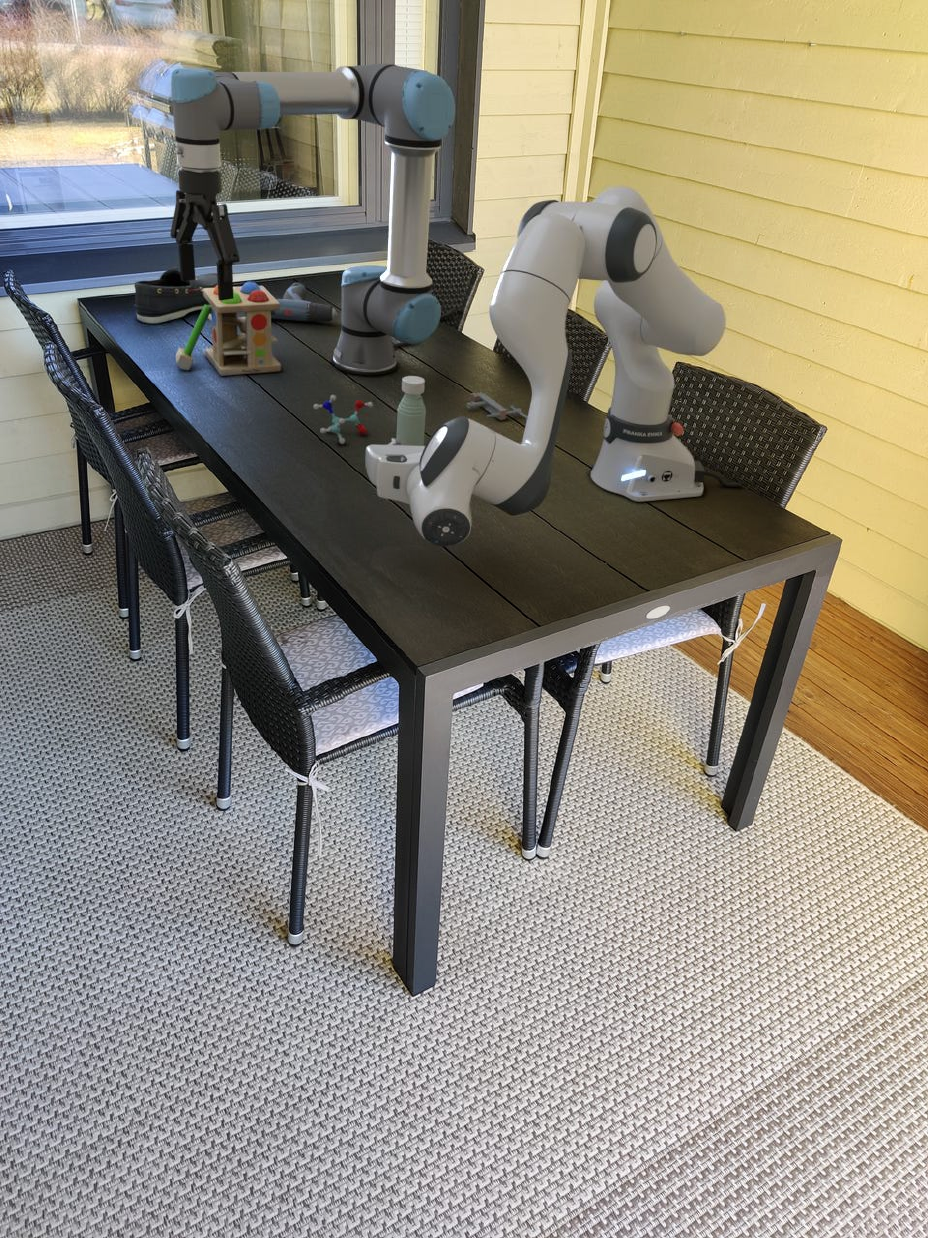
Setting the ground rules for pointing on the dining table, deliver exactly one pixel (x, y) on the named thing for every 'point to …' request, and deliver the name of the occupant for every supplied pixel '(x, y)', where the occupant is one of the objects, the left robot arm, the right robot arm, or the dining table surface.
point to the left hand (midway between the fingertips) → (206, 289)
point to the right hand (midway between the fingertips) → (423, 443)
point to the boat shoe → (171, 296)
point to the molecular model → (338, 421)
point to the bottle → (411, 420)
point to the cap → (413, 385)
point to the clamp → (485, 402)
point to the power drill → (301, 307)
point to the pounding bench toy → (229, 347)
